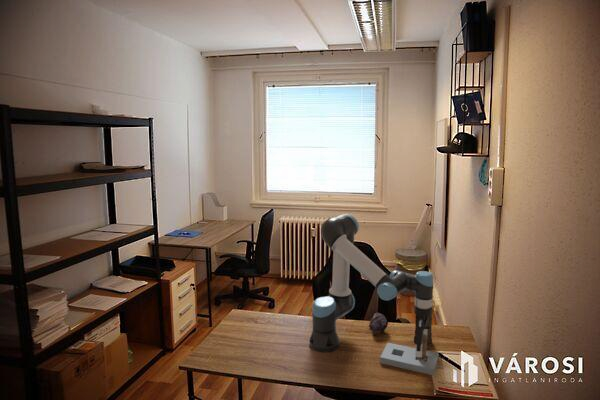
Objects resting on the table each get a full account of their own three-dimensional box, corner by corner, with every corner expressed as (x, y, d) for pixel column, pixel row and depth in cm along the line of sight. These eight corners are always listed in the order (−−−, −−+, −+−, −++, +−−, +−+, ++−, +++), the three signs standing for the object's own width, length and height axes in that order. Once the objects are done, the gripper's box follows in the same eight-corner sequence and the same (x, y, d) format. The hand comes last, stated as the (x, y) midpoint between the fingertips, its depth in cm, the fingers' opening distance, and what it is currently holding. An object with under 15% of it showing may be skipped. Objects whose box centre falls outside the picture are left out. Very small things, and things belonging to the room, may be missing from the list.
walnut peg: (416, 365, 190) (416, 337, 187) (417, 360, 193) (418, 332, 191) (425, 367, 188) (426, 338, 185) (426, 362, 192) (427, 334, 189)
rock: (369, 337, 217) (389, 337, 216) (369, 324, 214) (389, 324, 213) (368, 323, 228) (387, 323, 227) (368, 310, 225) (387, 310, 224)
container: (433, 348, 203) (434, 314, 200) (414, 346, 205) (415, 312, 202) (431, 339, 212) (432, 306, 209) (413, 337, 214) (414, 305, 211)
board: (380, 362, 192) (380, 357, 192) (387, 348, 204) (387, 342, 204) (433, 375, 182) (434, 369, 181) (438, 359, 194) (438, 353, 194)
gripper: (427, 319, 173) (425, 365, 177) (436, 296, 195) (433, 337, 199) (409, 316, 176) (407, 361, 180) (419, 293, 198) (417, 334, 202)
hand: (421, 349), depth 190 cm, fingers open, 13 cm apart
